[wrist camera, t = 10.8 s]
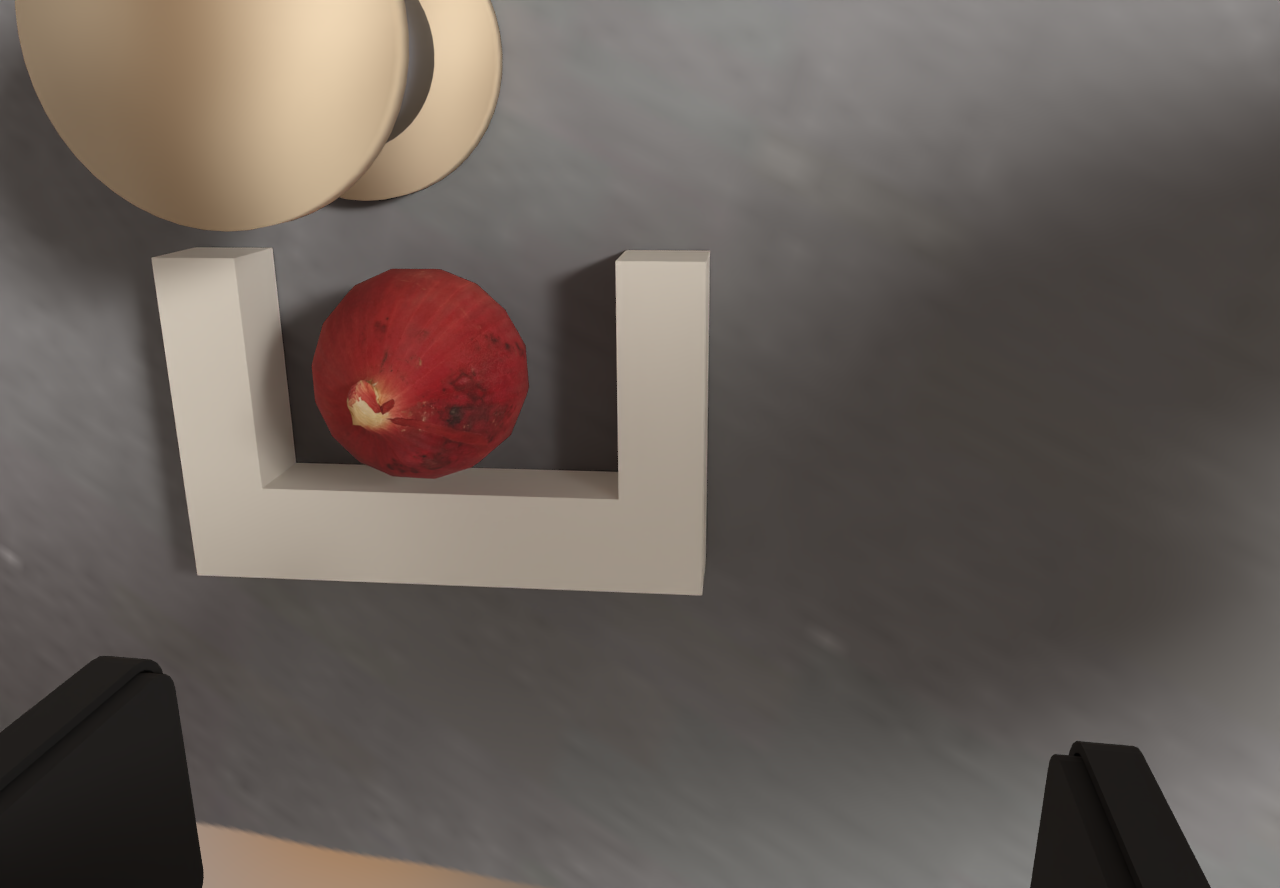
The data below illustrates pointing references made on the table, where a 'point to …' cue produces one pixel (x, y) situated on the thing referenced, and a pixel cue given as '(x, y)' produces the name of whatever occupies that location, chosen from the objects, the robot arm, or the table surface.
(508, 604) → the table surface
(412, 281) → the onion
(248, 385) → the notch board
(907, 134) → the table surface
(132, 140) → the spool
